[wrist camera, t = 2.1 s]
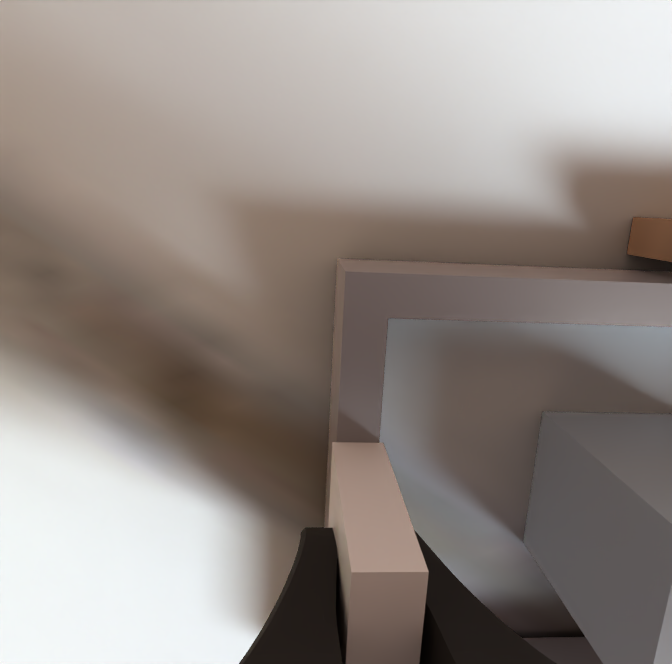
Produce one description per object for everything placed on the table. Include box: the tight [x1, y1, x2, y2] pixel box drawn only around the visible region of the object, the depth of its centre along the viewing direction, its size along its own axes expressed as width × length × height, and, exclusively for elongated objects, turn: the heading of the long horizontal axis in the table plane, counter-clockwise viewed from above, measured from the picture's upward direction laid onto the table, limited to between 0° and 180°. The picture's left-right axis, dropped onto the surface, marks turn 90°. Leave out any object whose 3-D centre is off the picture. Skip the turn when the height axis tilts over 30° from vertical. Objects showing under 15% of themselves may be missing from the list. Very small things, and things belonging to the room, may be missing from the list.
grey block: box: [523, 412, 672, 664], centre depth 14 cm, size 4×4×6 cm
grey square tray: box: [324, 258, 672, 664], centre depth 13 cm, size 13×13×7 cm
